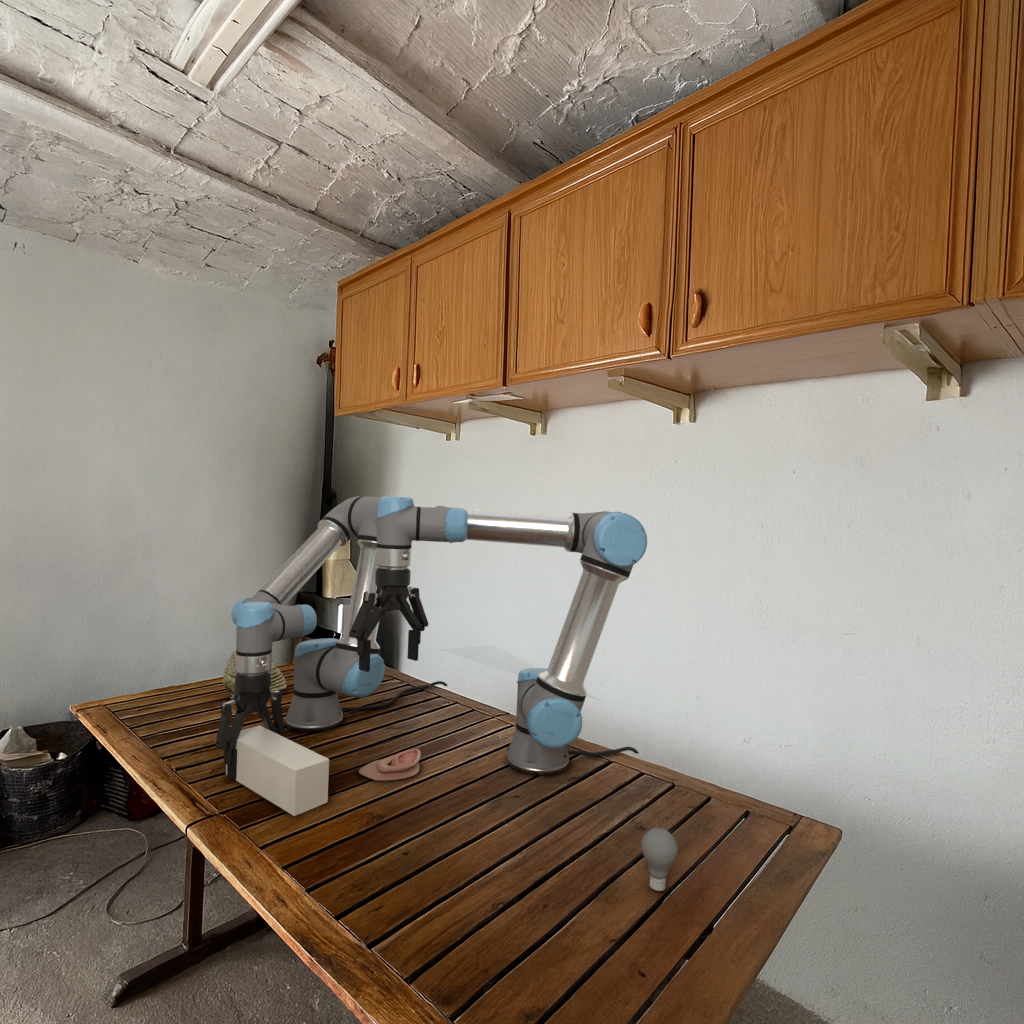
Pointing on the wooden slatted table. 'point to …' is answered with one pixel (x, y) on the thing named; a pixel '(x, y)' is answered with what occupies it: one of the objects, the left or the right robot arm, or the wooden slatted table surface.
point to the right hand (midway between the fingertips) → (389, 664)
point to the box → (281, 770)
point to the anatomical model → (393, 766)
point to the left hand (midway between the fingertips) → (250, 771)
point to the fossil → (229, 674)
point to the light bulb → (659, 855)
